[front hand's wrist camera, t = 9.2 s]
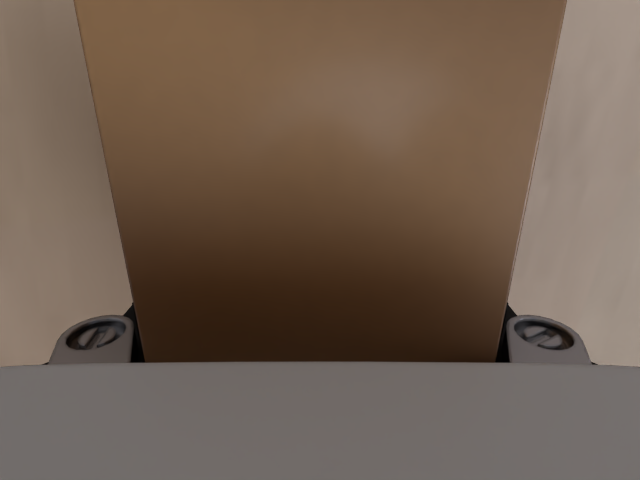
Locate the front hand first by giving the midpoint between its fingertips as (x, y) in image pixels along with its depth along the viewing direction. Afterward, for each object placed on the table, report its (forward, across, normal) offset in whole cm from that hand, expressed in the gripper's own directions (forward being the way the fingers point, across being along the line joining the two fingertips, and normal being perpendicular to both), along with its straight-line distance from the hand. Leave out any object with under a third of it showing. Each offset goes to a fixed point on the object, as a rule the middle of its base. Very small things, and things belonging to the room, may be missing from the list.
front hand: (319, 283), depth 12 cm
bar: (+4, 0, +34) cm, 34 cm away
